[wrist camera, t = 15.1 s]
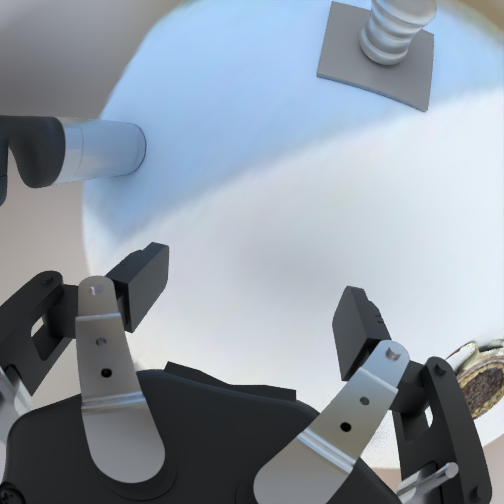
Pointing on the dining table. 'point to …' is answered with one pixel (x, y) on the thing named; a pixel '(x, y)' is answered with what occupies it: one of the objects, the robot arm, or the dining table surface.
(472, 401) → the pie
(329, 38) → the slate tile
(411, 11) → the plastic bottle
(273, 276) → the dining table surface
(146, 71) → the dining table surface
